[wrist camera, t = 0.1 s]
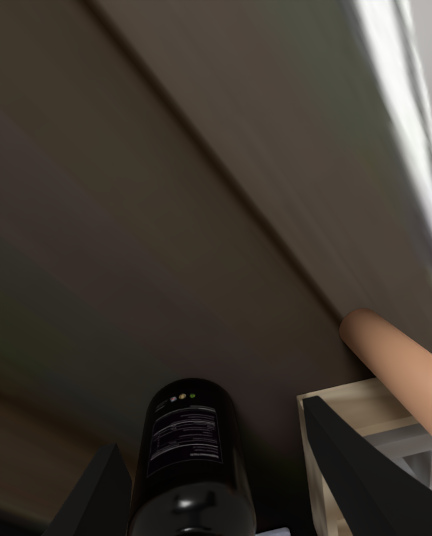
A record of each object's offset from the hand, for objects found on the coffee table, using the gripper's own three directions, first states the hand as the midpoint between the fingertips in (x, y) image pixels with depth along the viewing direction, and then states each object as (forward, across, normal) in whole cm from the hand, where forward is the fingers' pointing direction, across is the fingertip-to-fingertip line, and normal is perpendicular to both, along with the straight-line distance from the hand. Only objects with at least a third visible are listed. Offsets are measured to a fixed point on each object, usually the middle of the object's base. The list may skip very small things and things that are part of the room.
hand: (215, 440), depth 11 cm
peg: (+10, -11, +4) cm, 16 cm away
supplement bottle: (+10, +3, +8) cm, 13 cm away
